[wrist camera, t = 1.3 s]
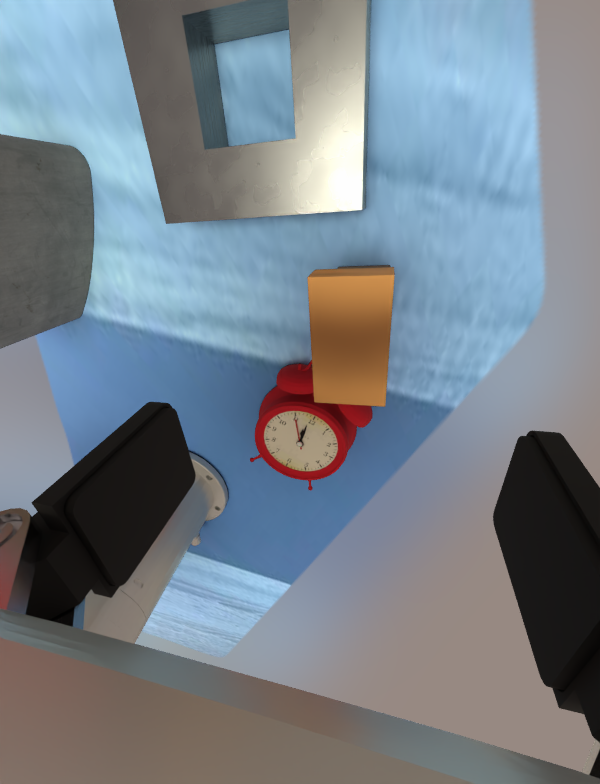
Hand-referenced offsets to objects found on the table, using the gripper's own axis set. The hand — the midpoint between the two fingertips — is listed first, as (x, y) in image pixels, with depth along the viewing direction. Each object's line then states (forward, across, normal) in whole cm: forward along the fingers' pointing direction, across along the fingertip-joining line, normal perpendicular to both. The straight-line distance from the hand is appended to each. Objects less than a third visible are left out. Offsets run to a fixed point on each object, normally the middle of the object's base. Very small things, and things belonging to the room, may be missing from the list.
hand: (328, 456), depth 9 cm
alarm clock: (+21, +5, +13) cm, 25 cm away
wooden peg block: (+21, 0, +1) cm, 21 cm away
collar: (+21, +8, -12) cm, 26 cm away
